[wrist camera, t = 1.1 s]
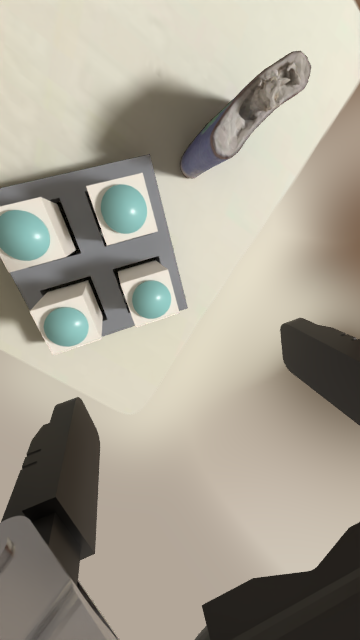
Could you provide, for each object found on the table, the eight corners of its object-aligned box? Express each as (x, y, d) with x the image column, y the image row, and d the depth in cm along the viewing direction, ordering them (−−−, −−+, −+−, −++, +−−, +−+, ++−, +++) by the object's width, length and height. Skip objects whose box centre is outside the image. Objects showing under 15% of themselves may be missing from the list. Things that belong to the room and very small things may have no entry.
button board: (-15, 199, 22) (-32, 195, 20) (145, 162, 25) (149, 154, 22) (57, 340, 28) (52, 353, 26) (180, 300, 31) (187, 308, 28)
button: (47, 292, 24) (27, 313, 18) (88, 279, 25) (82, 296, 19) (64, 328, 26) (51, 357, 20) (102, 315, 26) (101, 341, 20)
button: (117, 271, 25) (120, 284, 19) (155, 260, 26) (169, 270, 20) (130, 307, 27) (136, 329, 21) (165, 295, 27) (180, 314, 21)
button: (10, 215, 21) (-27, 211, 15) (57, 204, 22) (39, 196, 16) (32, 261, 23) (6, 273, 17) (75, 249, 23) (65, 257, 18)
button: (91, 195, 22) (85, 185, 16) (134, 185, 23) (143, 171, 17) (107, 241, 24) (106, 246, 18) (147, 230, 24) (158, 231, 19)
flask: (189, 184, 26) (236, 159, 17) (171, 159, 25) (210, 116, 15) (253, 122, 26) (340, 58, 16) (238, 93, 25) (322, 5, 15)
